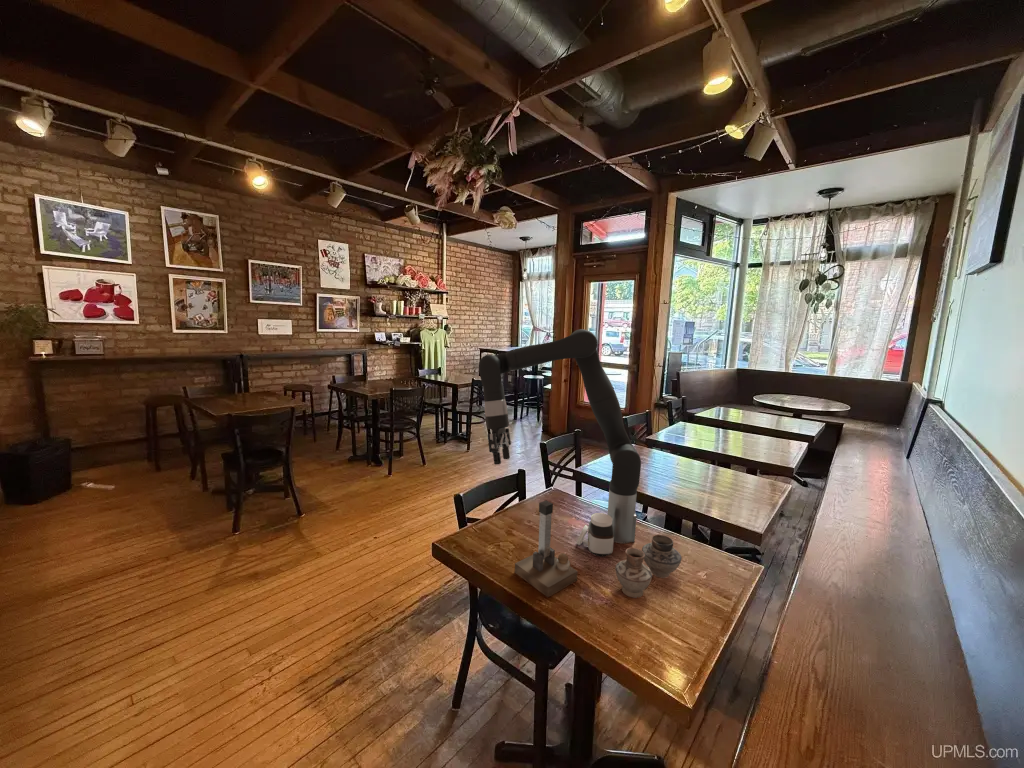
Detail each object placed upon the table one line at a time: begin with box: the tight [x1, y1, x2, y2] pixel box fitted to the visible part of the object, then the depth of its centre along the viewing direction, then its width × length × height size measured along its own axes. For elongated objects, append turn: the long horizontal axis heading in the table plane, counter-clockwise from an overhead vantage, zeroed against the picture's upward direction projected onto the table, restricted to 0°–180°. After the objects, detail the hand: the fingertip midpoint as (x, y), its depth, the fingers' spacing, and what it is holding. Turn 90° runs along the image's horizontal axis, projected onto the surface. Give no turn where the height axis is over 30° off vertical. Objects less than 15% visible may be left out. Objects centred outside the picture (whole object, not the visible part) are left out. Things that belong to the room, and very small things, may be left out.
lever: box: [537, 500, 554, 560], centre depth 119 cm, size 3×3×17 cm
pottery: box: [614, 533, 682, 599], centre depth 119 cm, size 11×25×12 cm, turn 130°
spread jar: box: [576, 512, 614, 558], centre depth 135 cm, size 12×11×12 cm
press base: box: [514, 546, 578, 598], centre depth 120 cm, size 14×12×8 cm
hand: (502, 461), depth 137 cm, fingers open, 8 cm apart
